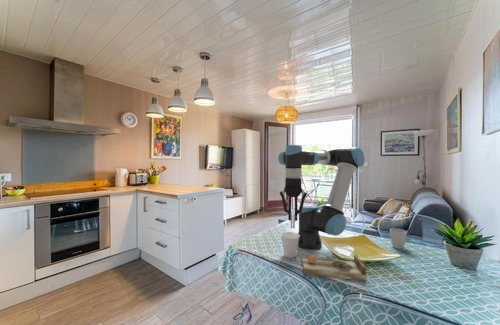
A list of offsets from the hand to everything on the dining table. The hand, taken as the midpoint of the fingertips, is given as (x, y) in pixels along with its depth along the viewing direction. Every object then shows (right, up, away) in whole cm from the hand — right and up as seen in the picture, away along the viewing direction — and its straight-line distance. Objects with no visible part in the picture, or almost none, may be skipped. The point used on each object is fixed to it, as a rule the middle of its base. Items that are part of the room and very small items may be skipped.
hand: (292, 227), depth 98 cm
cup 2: (+68, -20, +25) cm, 75 cm away
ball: (+9, -14, -2) cm, 17 cm away
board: (+17, -19, -3) cm, 25 cm away
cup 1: (+1, -19, +11) cm, 22 cm away
